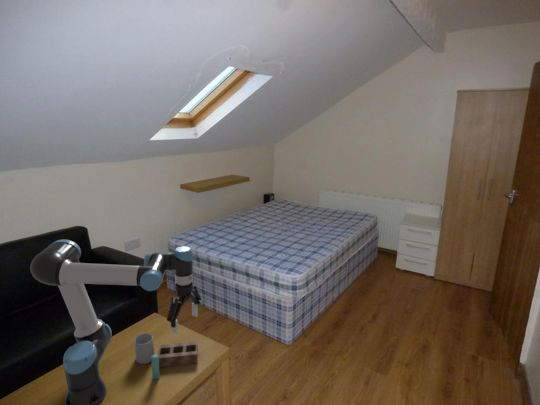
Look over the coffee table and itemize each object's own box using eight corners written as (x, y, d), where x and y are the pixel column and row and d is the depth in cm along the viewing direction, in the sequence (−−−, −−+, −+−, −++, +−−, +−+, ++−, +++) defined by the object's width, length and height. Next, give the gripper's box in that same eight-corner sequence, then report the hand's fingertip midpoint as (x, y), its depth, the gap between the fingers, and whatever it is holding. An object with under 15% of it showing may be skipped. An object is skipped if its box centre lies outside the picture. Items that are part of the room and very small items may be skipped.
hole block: (158, 367, 157) (157, 358, 156) (160, 353, 166) (159, 345, 164) (197, 362, 161) (197, 354, 159) (197, 349, 169) (197, 341, 168)
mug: (154, 362, 160) (152, 343, 157) (135, 365, 158) (133, 345, 155) (155, 345, 171) (154, 327, 168) (137, 348, 169) (135, 329, 166)
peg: (152, 379, 150) (150, 359, 147) (153, 374, 153) (151, 354, 150) (159, 379, 150) (157, 358, 147) (160, 374, 153) (158, 353, 150)
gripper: (170, 297, 133) (172, 342, 139) (208, 272, 155) (208, 312, 161) (156, 292, 136) (158, 337, 142) (195, 268, 158) (196, 307, 164)
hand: (185, 324), depth 151 cm, fingers open, 13 cm apart
